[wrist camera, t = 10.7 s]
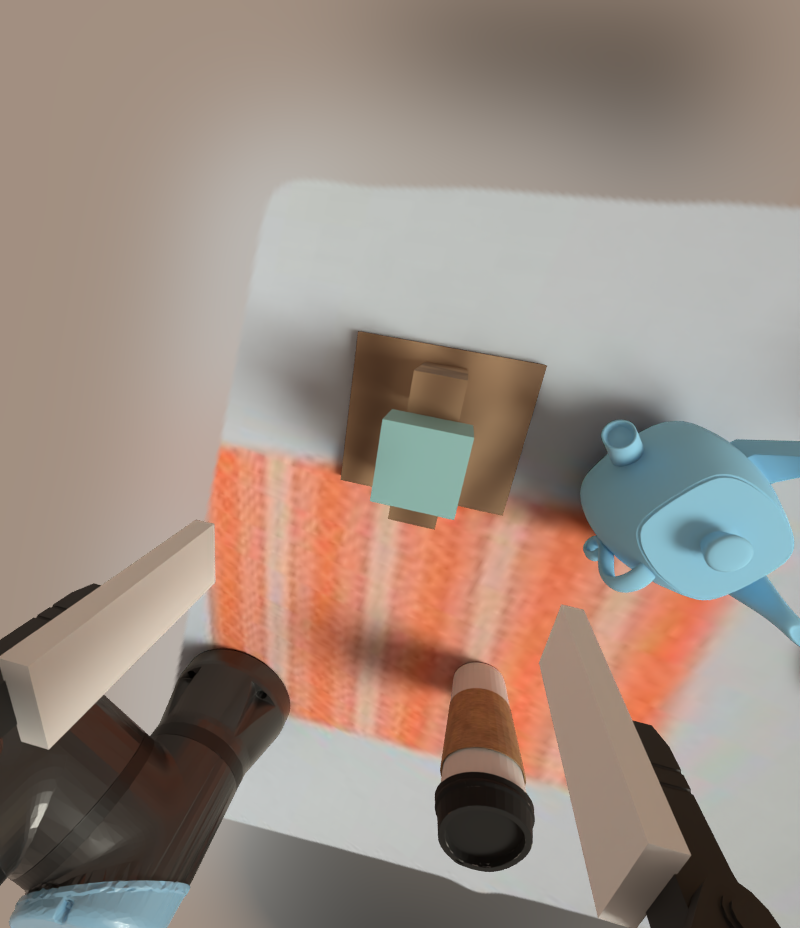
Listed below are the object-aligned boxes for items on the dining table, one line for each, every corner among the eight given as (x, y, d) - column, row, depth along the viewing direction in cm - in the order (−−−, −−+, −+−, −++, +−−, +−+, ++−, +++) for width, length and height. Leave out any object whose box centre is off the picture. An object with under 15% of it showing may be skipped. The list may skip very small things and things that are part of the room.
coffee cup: (429, 684, 45) (413, 840, 31) (468, 641, 42) (470, 793, 28) (487, 718, 46) (497, 889, 32) (531, 678, 43) (563, 847, 29)
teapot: (776, 414, 30) (943, 459, 20) (717, 561, 35) (826, 660, 24) (575, 399, 32) (628, 432, 22) (545, 538, 37) (576, 621, 26)
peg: (396, 454, 34) (370, 501, 25) (406, 393, 32) (382, 418, 23) (457, 467, 34) (454, 520, 24) (471, 406, 32) (474, 437, 22)
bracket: (343, 476, 38) (309, 516, 30) (361, 331, 33) (325, 331, 25) (501, 510, 37) (512, 564, 28) (544, 364, 32) (572, 376, 23)
